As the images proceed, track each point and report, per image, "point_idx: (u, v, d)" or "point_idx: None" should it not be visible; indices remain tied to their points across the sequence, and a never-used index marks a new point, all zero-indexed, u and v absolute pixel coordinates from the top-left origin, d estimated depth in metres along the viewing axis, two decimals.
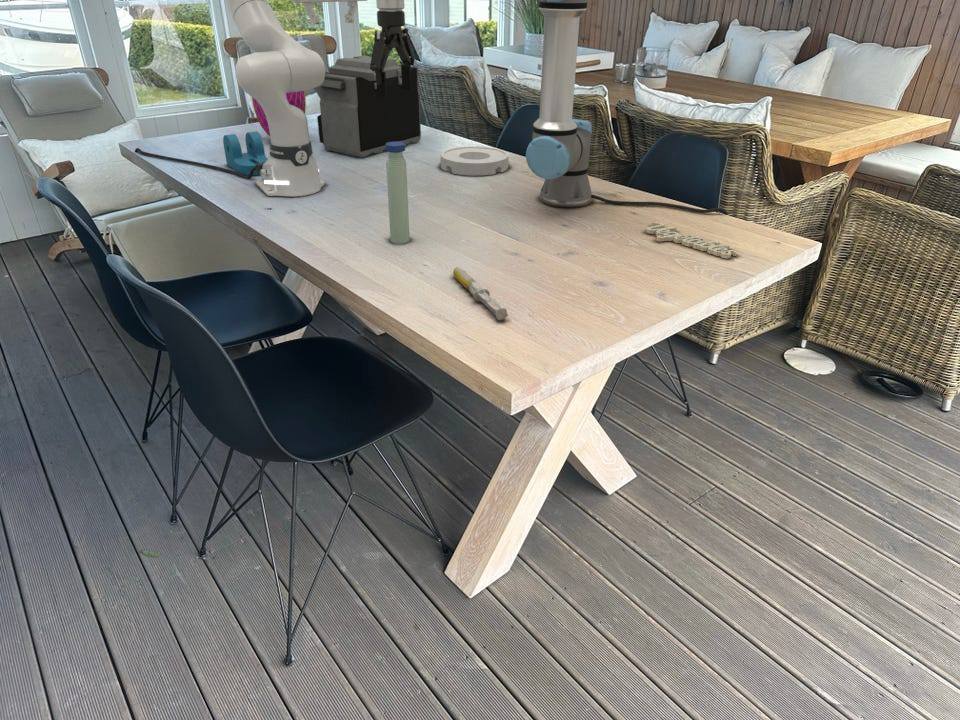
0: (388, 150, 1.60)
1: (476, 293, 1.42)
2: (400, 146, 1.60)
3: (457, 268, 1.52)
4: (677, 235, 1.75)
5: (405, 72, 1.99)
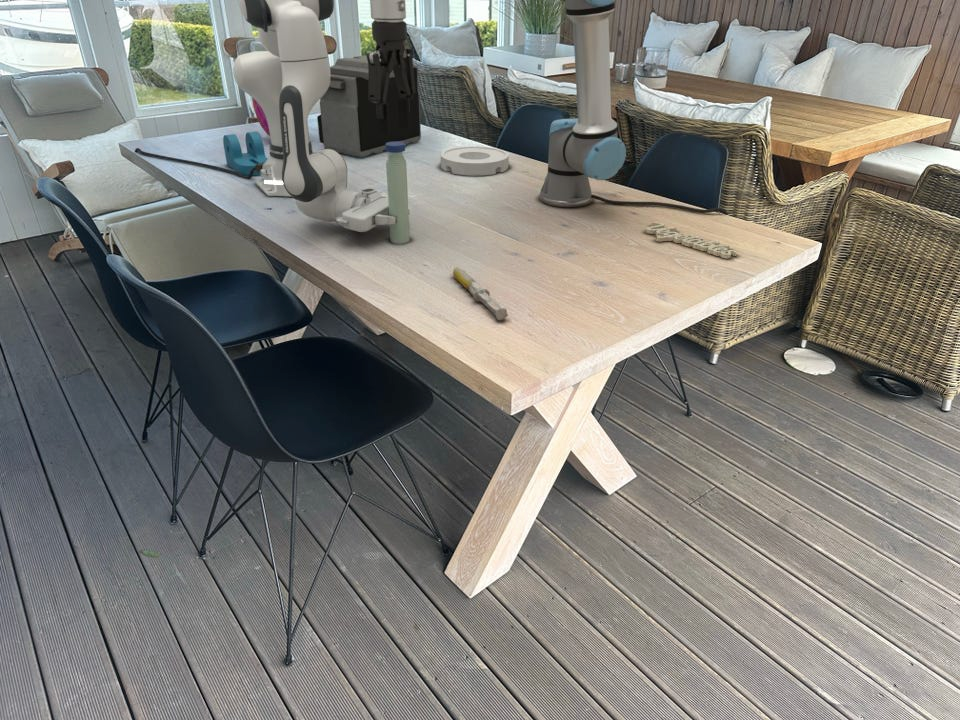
0: (388, 150, 1.60)
1: (476, 293, 1.42)
2: (400, 146, 1.60)
3: (457, 268, 1.52)
4: (677, 235, 1.75)
5: None
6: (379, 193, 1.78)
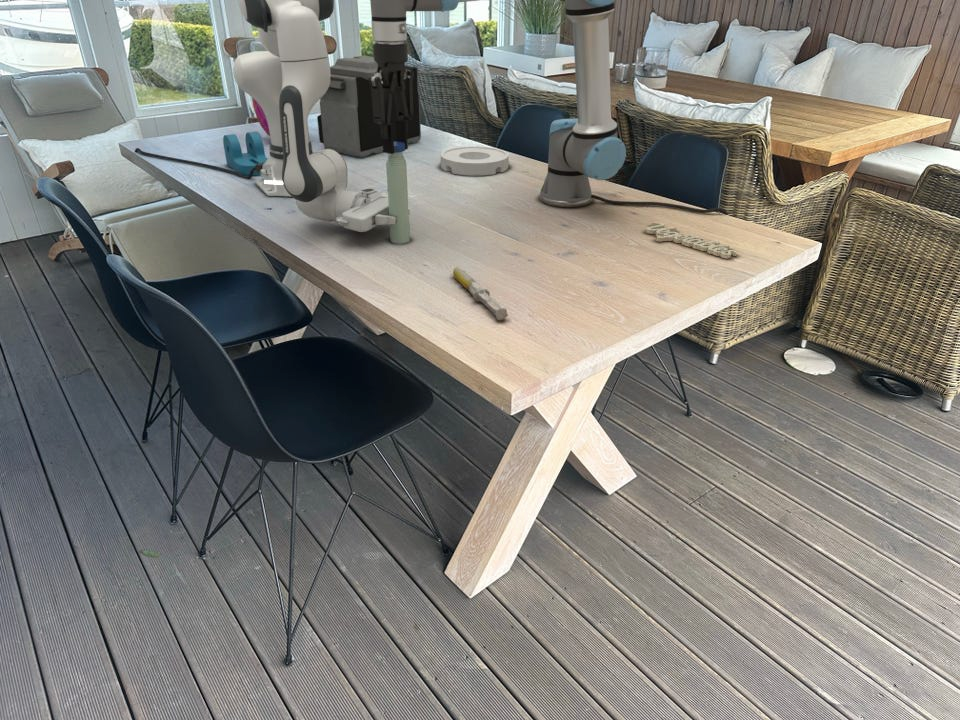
0: None
1: (476, 293, 1.42)
2: (400, 146, 1.60)
3: (457, 268, 1.52)
4: (677, 235, 1.75)
5: None
6: (379, 193, 1.78)
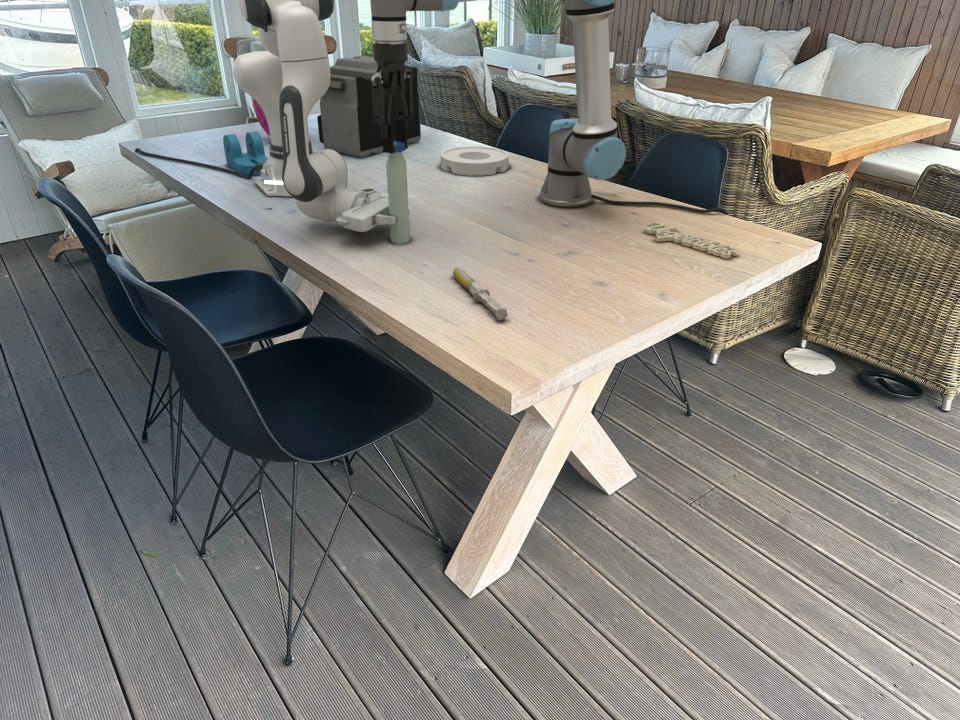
0: (401, 149, 1.60)
1: (476, 293, 1.42)
2: None
3: (457, 268, 1.52)
4: (677, 235, 1.75)
5: None
6: (379, 193, 1.78)
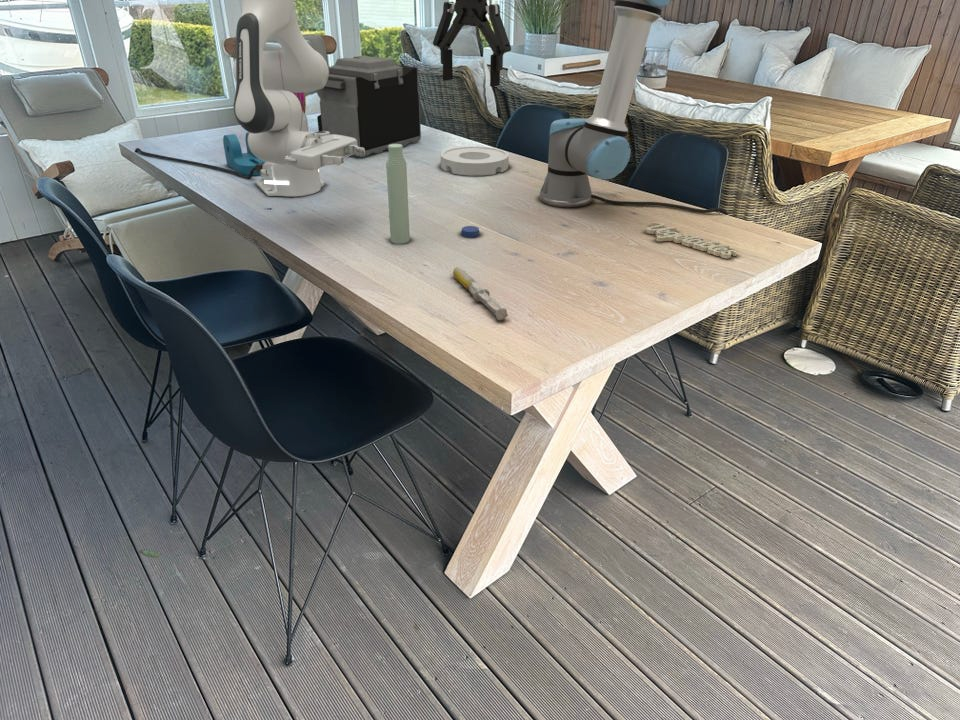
0: (474, 235, 1.76)
1: (476, 293, 1.42)
2: None
3: (457, 268, 1.52)
4: (677, 235, 1.75)
5: None
6: (332, 135, 1.76)
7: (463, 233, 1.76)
